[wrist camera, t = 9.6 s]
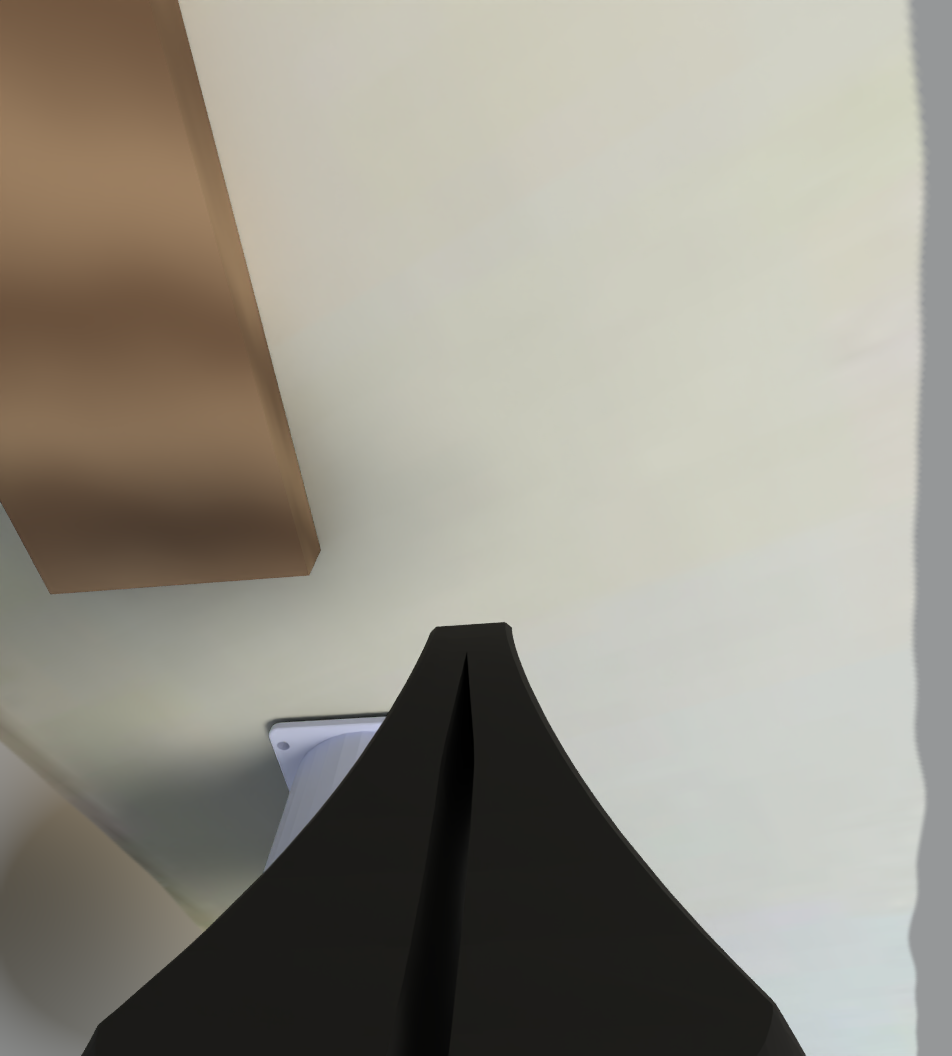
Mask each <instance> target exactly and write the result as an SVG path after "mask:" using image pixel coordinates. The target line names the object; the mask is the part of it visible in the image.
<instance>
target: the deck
mask: <svg viewBox="0 0 952 1056" xmlns="http://www.w3.org/2000/svg"><path fill="white" fill-rule="evenodd" d="M0 501H1V503H2V505H3V507H4V509H5V511H6V512H7V514H8V516H9V518H10V520H11V522H12V524H13V526H14V527H15V529H16V531H17V533H18V535H19V537H20V539H21V540H22V542H23V544H24V546H25V548H26V550H27V552H28V553H29V555H30V557H31V559H32V561H33V563H34V565H35V567H36V568H37V570H38V572H39V574H40V576H41V578H42V580H43V581H44V583H45V585H46V587H47V589H48V591H49V593H50V594H61V593H75V592H88V591H102V590H116V589H129V588H143V587H156V586H170V585H184V584H197V583H211V582H225V581H238V580H252V579H265V578H279V577H293V576H306V575H309V574H310V572H311V570H312V568H313V566H314V564H315V561H316V559H317V557H318V555H319V553H320V551H321V549H320V546H319V542H318V538H317V534H316V530H315V526H314V522H313V519H312V515H311V511H310V507H309V503H308V499H307V496H306V492H305V488H304V484H303V480H302V476H301V472H300V469H299V465H298V461H297V457H296V453H295V449H294V446H293V442H292V438H291V434H290V430H289V426H288V422H287V419H286V415H285V411H284V407H283V403H282V399H281V395H280V392H279V388H278V384H277V380H276V376H275V372H274V369H273V365H272V361H271V357H270V353H269V349H268V345H267V342H266V338H265V334H264V330H263V326H262V322H261V319H260V315H259V311H258V307H257V303H256V299H255V295H254V292H253V288H252V284H251V280H250V276H249V272H248V269H247V265H246V261H245V257H244V253H243V249H242V245H241V242H240V238H239V234H238V230H237V226H236V222H235V219H234V215H233V211H232V207H231V203H230V199H229V195H228V192H227V188H226V184H225V180H224V176H223V172H222V169H221V165H220V161H219V157H218V153H217V149H216V145H215V142H214V138H213V134H212V130H211V126H210V122H209V119H208V115H207V111H206V107H205V103H204V99H203V95H202V92H201V88H200V84H199V80H198V76H197V72H196V69H195V65H194V61H193V57H192V53H191V49H190V45H189V42H188V38H187V34H186V30H185V26H184V22H183V19H182V15H181V11H180V7H179V3H178V0H0Z"/></svg>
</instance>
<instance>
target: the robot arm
mask: <svg viewBox="0 0 952 1056" xmlns="http://www.w3.org/2000/svg"><path fill="white" fill-rule="evenodd" d="M269 739H270V741H271V744H272V747H273V749H274V752H275V755H276V757H277V760H278V763H279V765H280V768H281V771H282V773H283V776H284V779H285V781H286V784H287V787H288V789H289V792H290V793H289V796H288V799H287V802H286V805H285V808H284V811H283V814H282V817H281V820H280V823H279V826H278V829H277V832H276V835H275V838H274V841H273V844H272V847H271V850H270V853H269V856H268V859H267V862H266V865H265V868H264V871H263V874H262V875H261V876H260V877H259V878H258V879H257V880H256V881H255V882H254V883H253V884H252V885H251V886H250V887H249V888H248V889H247V890H246V891H245V892H244V893H243V894H242V895H241V896H240V897H239V898H238V899H237V900H236V901H235V902H234V903H233V904H232V905H231V906H230V907H229V908H228V909H227V910H226V911H225V912H224V913H223V914H222V915H221V916H220V917H219V918H218V919H217V920H216V921H215V922H214V923H213V924H212V925H211V926H210V927H209V928H208V929H207V930H206V931H204V932H203V933H202V934H201V935H200V936H199V937H198V938H197V939H196V940H195V941H194V942H193V943H192V944H191V945H190V946H188V947H187V948H186V949H185V950H184V951H183V952H182V953H180V954H179V955H178V956H177V957H176V958H175V959H174V960H173V961H171V962H170V963H169V964H168V965H167V966H166V967H165V968H163V969H162V970H161V971H160V972H159V973H158V974H157V975H155V976H154V977H153V978H152V979H151V980H150V981H149V982H147V983H146V984H145V985H144V986H143V987H142V988H141V989H139V990H138V991H137V992H136V993H135V994H134V995H133V996H131V997H130V998H129V999H128V1000H127V1001H126V1002H125V1003H124V1004H123V1005H121V1006H120V1007H119V1008H118V1009H117V1010H115V1011H114V1012H113V1013H112V1014H111V1015H109V1016H108V1017H107V1018H106V1019H105V1020H103V1021H102V1022H101V1023H100V1024H99V1025H98V1026H97V1028H96V1030H95V1032H94V1034H93V1036H92V1038H91V1040H90V1042H89V1043H88V1045H87V1047H86V1048H85V1050H84V1052H83V1054H82V1055H81V1056H806V1055H805V1053H804V1051H803V1049H802V1048H801V1046H800V1044H799V1042H798V1041H797V1039H796V1037H795V1036H794V1034H793V1032H792V1030H791V1029H790V1027H789V1025H788V1024H787V1022H786V1020H785V1018H784V1017H783V1015H782V1013H781V1012H780V1010H779V1008H778V1007H777V1005H776V1004H775V1003H774V1001H773V1000H772V999H771V998H770V997H769V996H768V995H767V994H766V993H765V992H764V991H763V990H762V989H761V988H760V987H759V986H758V985H757V984H756V983H755V982H754V981H753V980H752V979H751V978H750V977H749V976H748V975H747V974H746V973H745V972H744V971H743V970H742V969H741V968H740V967H739V966H738V965H737V964H736V963H735V962H734V961H733V960H732V959H731V958H730V957H729V955H728V954H727V953H726V952H725V951H724V950H723V949H722V948H721V947H720V946H719V945H718V944H717V943H716V942H715V941H714V940H713V939H712V938H711V937H710V936H709V935H708V934H707V932H706V931H705V930H704V929H703V928H702V927H701V926H700V925H699V924H698V923H697V921H696V920H695V919H694V918H693V917H692V916H691V915H690V914H689V913H688V911H687V910H686V909H685V908H684V907H683V906H682V905H681V904H680V903H679V901H678V900H677V899H676V898H675V897H674V896H673V895H672V894H671V893H670V891H669V890H668V889H667V888H666V887H665V886H664V884H663V883H662V882H661V881H660V879H659V878H658V877H657V876H656V875H655V873H654V872H653V871H652V870H651V868H650V867H649V866H648V865H647V864H646V862H645V861H644V860H643V859H642V858H641V856H640V855H639V854H638V853H637V851H636V850H635V849H634V848H633V847H632V845H631V844H630V843H629V842H628V840H627V839H626V838H625V837H624V836H623V834H622V833H621V832H620V830H619V829H618V828H617V826H616V825H615V824H614V822H613V821H612V820H611V818H610V817H609V816H608V814H607V813H606V811H605V810H604V809H603V807H602V806H601V805H600V803H599V802H598V801H597V799H596V798H595V796H594V795H593V793H592V792H591V790H590V789H589V787H588V786H587V785H586V783H585V782H584V780H583V779H582V777H581V776H580V774H579V773H578V771H577V769H576V768H575V766H574V765H573V763H572V762H571V760H570V758H569V757H568V755H567V753H566V752H565V750H564V748H563V747H562V745H561V743H560V742H559V740H558V738H557V736H556V735H555V733H554V731H553V730H552V728H551V726H550V724H549V722H548V720H547V718H546V717H545V715H544V713H543V711H542V709H541V707H540V705H539V703H538V701H537V699H536V697H535V695H534V692H533V690H532V688H531V686H530V684H529V682H528V679H527V677H526V675H525V672H524V670H523V667H522V665H521V662H520V660H519V657H518V654H517V651H516V647H515V644H514V640H513V635H512V627H511V626H509V625H508V624H507V623H505V622H501V623H486V624H471V625H456V626H441V627H436V628H435V629H434V630H433V631H432V632H431V633H430V635H429V638H428V640H427V642H426V645H425V647H424V649H423V651H422V653H421V655H420V657H419V659H418V661H417V663H416V665H415V667H414V669H413V671H412V673H411V674H410V676H409V678H408V680H407V682H406V684H405V685H404V687H403V689H402V691H401V692H400V694H399V696H398V697H397V699H396V701H395V703H394V704H393V706H392V708H391V709H390V711H389V713H388V714H387V716H385V717H368V718H351V719H334V720H317V721H299V722H282V723H276V724H274V725H273V726H272V728H271V730H270V732H269ZM285 742H286V743H285Z"/></svg>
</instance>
